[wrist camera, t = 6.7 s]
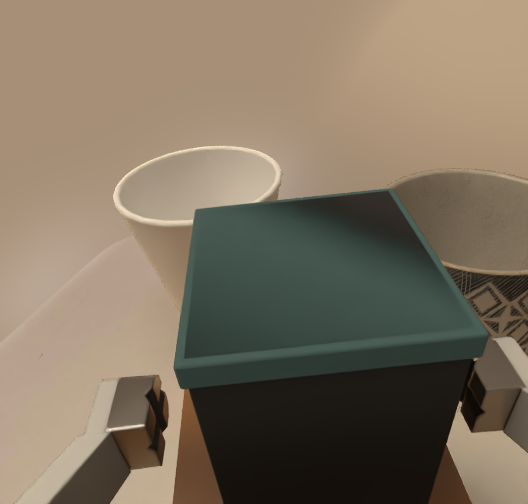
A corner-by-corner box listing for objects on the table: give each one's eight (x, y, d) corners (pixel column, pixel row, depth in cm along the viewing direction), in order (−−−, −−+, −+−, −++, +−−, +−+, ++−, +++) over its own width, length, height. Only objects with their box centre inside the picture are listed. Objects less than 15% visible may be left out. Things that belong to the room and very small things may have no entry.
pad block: (416, 566, 13) (491, 334, 7) (242, 585, 13) (172, 368, 7) (370, 412, 17) (392, 187, 11) (239, 426, 17) (194, 208, 11)
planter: (497, 433, 26) (549, 309, 20) (332, 332, 34) (333, 220, 28) (567, 320, 33) (622, 201, 27) (416, 257, 41) (432, 154, 34)
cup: (141, 366, 33) (88, 231, 26) (166, 270, 42) (133, 152, 35) (296, 355, 32) (287, 214, 25) (286, 260, 42) (278, 139, 35)
